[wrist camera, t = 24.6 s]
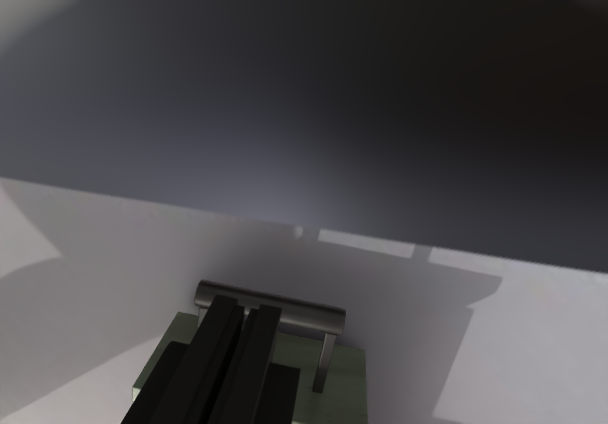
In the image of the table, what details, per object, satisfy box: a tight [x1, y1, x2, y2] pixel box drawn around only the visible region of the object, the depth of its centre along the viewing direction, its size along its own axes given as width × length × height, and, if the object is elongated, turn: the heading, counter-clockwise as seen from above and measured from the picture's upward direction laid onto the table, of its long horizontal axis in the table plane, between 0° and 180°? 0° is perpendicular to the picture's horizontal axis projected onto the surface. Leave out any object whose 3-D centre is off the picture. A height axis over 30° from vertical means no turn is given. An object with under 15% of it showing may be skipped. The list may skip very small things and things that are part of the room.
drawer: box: [132, 280, 368, 424], centre depth 28 cm, size 21×13×7 cm, turn 170°
